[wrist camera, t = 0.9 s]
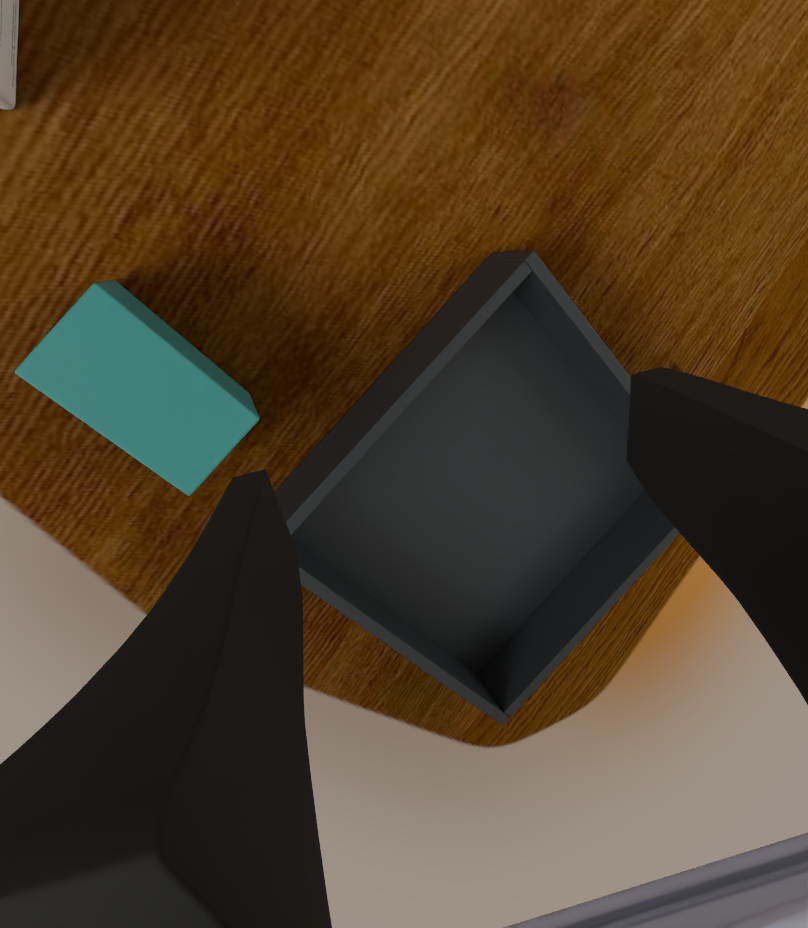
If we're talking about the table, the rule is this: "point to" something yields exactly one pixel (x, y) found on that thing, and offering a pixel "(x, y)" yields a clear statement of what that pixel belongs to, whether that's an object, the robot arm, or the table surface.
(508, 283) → the dark grey square tray
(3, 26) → the ink box
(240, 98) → the table surface
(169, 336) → the teal block
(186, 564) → the robot arm
